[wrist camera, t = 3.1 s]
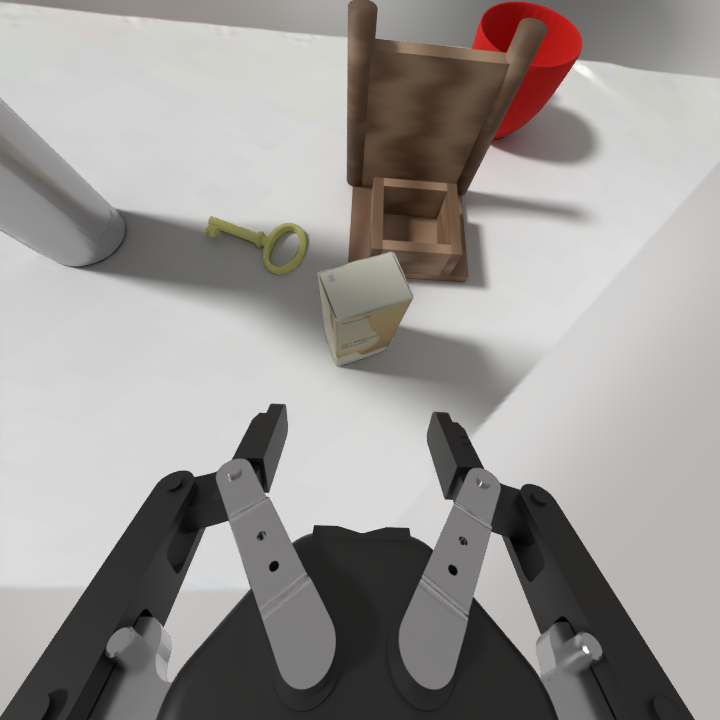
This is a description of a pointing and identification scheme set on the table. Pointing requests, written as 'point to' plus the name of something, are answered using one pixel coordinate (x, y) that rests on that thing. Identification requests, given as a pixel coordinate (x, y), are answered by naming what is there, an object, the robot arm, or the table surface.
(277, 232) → the key
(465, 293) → the table surface
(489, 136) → the headboard stand
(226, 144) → the table surface
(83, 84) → the table surface
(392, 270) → the skincare box
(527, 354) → the table surface
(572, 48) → the ceramic cup
